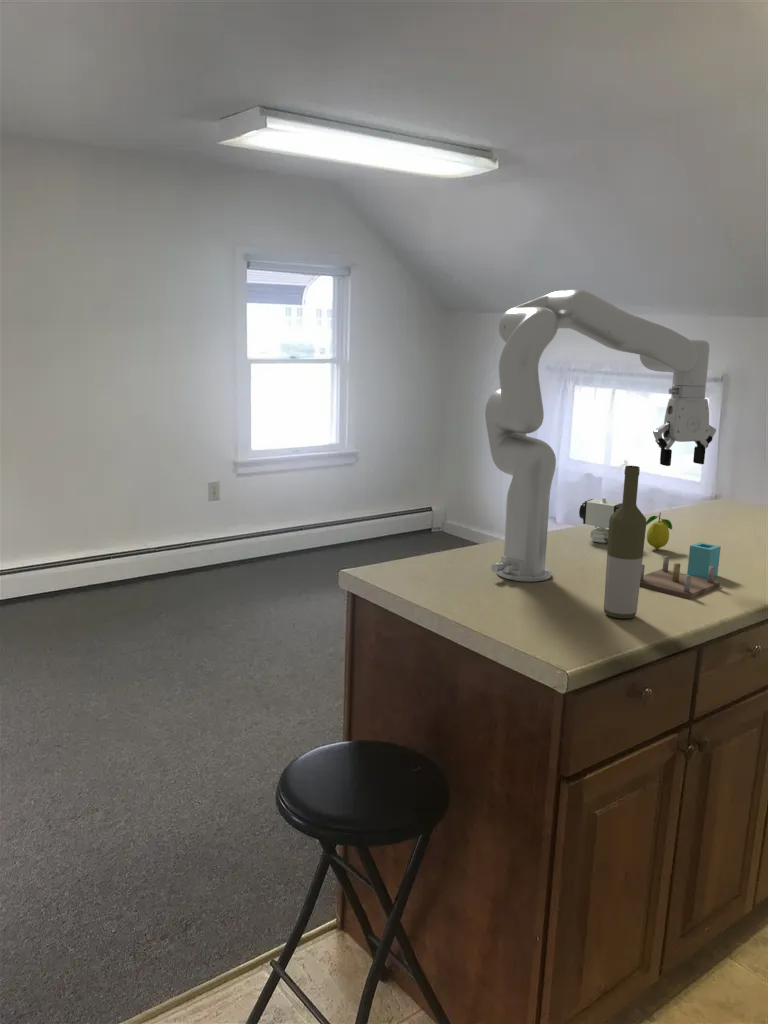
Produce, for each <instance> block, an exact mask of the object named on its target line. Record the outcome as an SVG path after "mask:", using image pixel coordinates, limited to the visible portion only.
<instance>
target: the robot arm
mask: <svg viewBox="0 0 768 1024" xmlns="http://www.w3.org/2000/svg"><path fill="white" fill-rule="evenodd" d="M558 329H559V330H560V329H571V330H573V331H575V332H577V333H579V334H581V335H583V336H586V337H588V338H590V339H591V340H593V341H595V342H597V343H598V344H600V345H602V346H605V347H607V348H608V349H612V350H615V351H618V352H621V353H622V352H624V353H630V354H635V355H638V356H639V359H640V363H641V365H643V366H644V368H646V369H648V370H651V371H655V372H663V373H664V372H665V373H666V372H667V373H673V374H672V386H671V388H669V389H668V394H669V395H670V396H671V397H670V398H669V399H668V401H667V406H666V410H665V414H664V421H663V424H662V425H660V426H658V427H657V428H655V429H654V430H653V431H652V434H653V436H654V439H655V443H656V444H657V445H658V448H659V449H660V453H659V454H660V457H659V464H660V466H664V467H665V466H666V467H670V466H671V463H672V455H673V454H672V453H673V449H671V447H672V446H673V444H674V443H676V442H679V443H681V442H682V443H685V442H686V443H689V442H694V443H695V444H696V446H694V449H693V450H694V451H693V463H694V464H698V465H704V464H705V456H706V449H707V448H708V447H709V444H710V443H711V442H712V441H713V437H714V436H715V434H716V432H717V429H716V428H715V427H713V426H712V425H710V409H709V408H710V407H709V400H708V399H707V398H706V392H707V391H706V390H707V379H708V367H709V359H710V357H709V356H710V344H709V341H707V340H702V339H689V338H687V337H686V336H684V335H682V334H681V333H678V332H676V331H674V330H672V329H671V328H668V327H666V326H664V325H661V324H658V323H656V322H653V321H650V320H648V319H645V318H643V317H639V316H638V315H635V314H631V313H628V312H627V311H625V310H623V309H621V308H620V307H617V306H615V305H613V304H612V303H610V302H608V301H606V300H604V299H602V298H601V297H599V296H597V295H595V294H593V293H591V292H590V291H587V290H584V289H580V288H578V289H577V288H576V289H575V288H574V289H563V290H561V289H560V290H556V291H553V292H550V293H548V294H545V295H542V296H539V297H538V298H535V299H531V300H530V301H527V302H524V303H521V304H519V305H516V306H514V307H512V308H510V309H508V310H507V311H505V312H504V314H503V315H501V318H500V319H499V322H498V332H499V335H500V337H501V339H502V340H503V341H504V342H505V345H504V346H503V348H502V351H501V354H500V357H499V362H498V377H499V388H498V389H496V390H495V391H493V392H492V394H491V395H489V396H488V397H489V398H488V399H487V401H486V406H485V411H484V415H485V418H484V419H485V424H486V425H485V426H486V431H487V436H488V443H489V448H490V454H491V458H492V461H493V463H494V465H495V466H496V468H497V469H498V470H499V471H501V472H503V473H504V474H507V475H510V476H512V477H511V480H510V481H511V482H510V484H509V487H508V491H507V494H506V495H507V496H506V506H505V508H506V509H505V511H506V512H505V525H504V527H505V528H504V543H503V544H504V546H503V548H504V549H503V556H501V560H500V561H499V562H496V563H493V564H492V565H491V566H490V567H491V568H490V569H491V571H492V572H493V573H496V574H497V575H498V576H499V577H501V578H503V579H507V580H511V581H515V582H528V583H530V582H531V583H532V582H543V581H546V580H548V579H550V578H551V577H552V573H553V571H552V570H551V569H550V568H549V567H547V566H546V560H547V559H546V557H547V542H548V540H547V539H548V528H549V527H548V526H549V515H550V514H549V512H550V496H551V488H552V483H553V480H554V475H555V472H556V466H557V458H556V454H555V451H554V450H553V448H552V447H551V445H550V444H548V443H547V442H545V441H544V440H541V439H538V438H536V437H531V436H527V434H531V433H535V432H536V431H538V430H539V429H540V427H542V425H543V422H544V413H545V412H544V405H543V398H542V392H541V391H542V390H541V386H540V385H541V384H540V376H539V363H540V359H541V358H542V357H541V356H542V354H543V353H544V351H545V349H546V348H547V347H548V345H550V343H551V342H552V341H553V340H554V338H555V336H556V335H557V332H558Z"/></svg>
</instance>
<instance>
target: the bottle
mask: <svg viewBox="0 0 768 1024" xmlns="http://www.w3.org/2000/svg"><path fill="white" fill-rule="evenodd" d="M623 473H624V483H623V493H622V502H621V503H622V505H621V507H620V508H619V509H618V510H616V511H615V512H614V513H613V514H612V515H611V517H610V520H609V528H608V529H609V534H608V542H607V549H606V551H607V552H606V553H607V554H606V567H605V583H604V600H603V611H604V613H605V615H607V616H609V617H612V618H615V619H621V620H623V619H626V620H627V619H631V618H635V617H636V614H637V611H638V606H639V605H638V603H639V594H640V587H641V586H640V578H641V569H642V564H643V560H644V558H643V557H644V549H645V539H646V530H647V525H646V523H647V518H646V516H645V515H644V514H643V512H642V511H641V510H640V509H639V508H638V506H637V498H638V489H639V488H638V487H639V476H640V473H641V472H640V466H637V465H625V467H624V472H623Z"/></svg>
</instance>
